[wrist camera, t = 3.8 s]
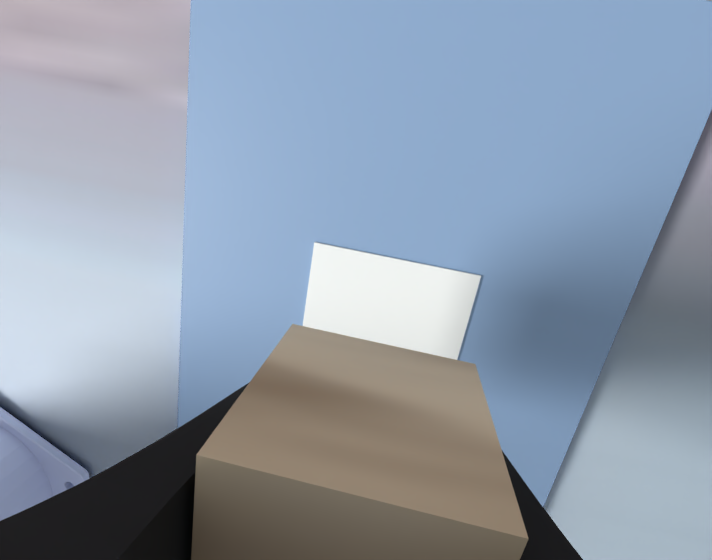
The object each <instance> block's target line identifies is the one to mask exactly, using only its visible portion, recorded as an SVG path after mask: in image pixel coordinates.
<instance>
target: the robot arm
mask: <svg viewBox="0 0 712 560" xmlns="http://www.w3.org/2000/svg"><path fill="white" fill-rule="evenodd" d="M248 384H249V383H248ZM248 384H246V385H244V386H243V387H241V388H240V389H238V390H236V391H235V392H233V393H232V394H230V395H229V396H227V397H226V398H224V399H223V400H221V401H220V402H218V403H217V404H215V405H213V406H212V407H210V408H209V409H207V410H206V411H204V412H203V413H201V414H200V415H198V416H197V417H195V418H193V419H192V420H190V421H189V422H187V423H185V424H184V425H182V426H181V427H179V428H177V429H176V430H174V431H172V432H171V433H169V434H168V435H166V436H164V437H163V438H161V439H159V440H158V441H156V442H154V443H153V444H151V445H149V446H148V447H146V448H144V449H142V450H140V451H139V452H137V453H135V454H133V455H132V456H130V457H128V458H126V459H125V460H123V461H121V462H119V463H117V464H116V465H114V466H112V467H110V468H109V469H107V470H105V471H103V472H101V473H99V474H97V475H95V476H94V477H92V478H90V477H89V473H88V471H87V470H86V469H85V468H83V467H82V466H81V465H79V464H78V463H76V462H75V461H74V460H72V459H71V458H70V457H68V456H67V455H66V454H64V453H63V452H61V451H60V450H59V449H57V448H56V447H55V446H53V445H52V444H50V443H49V442H48V441H46V440H45V439H44V438H42V437H41V436H39V435H38V434H37V433H35V432H34V431H33V430H31V429H30V428H29V427H27V426H26V425H24V424H23V423H22V422H20V421H19V420H18V419H16V418H15V417H13V416H12V415H11V414H9V413H8V412H7V411H5V410H4V409H2V408H1V407H0V560H191V552H192V532H193V512H194V492H195V473H196V455H197V453H198V452H199V451H200V449H201V448H202V446H203V445H204V444H205V442H206V441H207V440H208V438H209V437H210V436H211V434H212V433H213V431H214V430H215V429H216V427H217V426H218V425H219V423H220V422H221V421H222V419H223V418H224V416H225V415H226V414H227V412H228V411H229V410H230V408H231V407H232V406H233V404H234V403H235V401H236V400H237V399H238V397H239V396H240V395H241V393H242V392H243V391H244V389H245V388H246V386H247V385H248ZM501 450H502V449H501ZM502 453H503V456H504V460H505V463H506V466H507V470H508V473H509V476H510V479H511V483H512V486H513V489H514V493H515V496H516V499H517V502H518V506H519V509H520V512H521V516H522V519H523V522H524V525H525V529H526V532H527V535H528V541H527V544H526V546H525V548H524V551H523V553H522V556H521V558H520V560H583V559H582V558H581V557H580V555H579V554H578V553H577V552H576V550H575V549H574V548H573V547H572V545H571V544H570V543H569V541H568V540H567V539H566V537H565V536H564V535H563V533H562V532H561V531H560V530H559V528H558V527H557V526H556V524H555V523H554V521H553V520H552V519H551V517H550V516H549V515H548V513H547V512H546V511H545V509H544V508H543V507H542V505H541V504H540V503H539V501H538V500H537V498H536V497H535V496H534V494H533V493H532V491H531V490H530V489H529V487H528V486H527V485H526V483H525V482H524V480H523V479H522V478H521V476H520V475H519V473H518V472H517V471H516V469H515V468H514V466H513V465H512V463H511V462H510V461H509V459H508V458H507V456H506V455H505V454H504V452H503V451H502Z"/></svg>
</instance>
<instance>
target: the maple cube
mask: <svg viewBox="0 0 712 560" xmlns="http://www.w3.org/2000/svg"><path fill="white" fill-rule="evenodd" d="M527 541H528V535H527V532H526V529H525V525H524V522H523V519H522V516H521V512H520V509H519V506H518V502H517V499H516V496H515V493H514V489H513V486H512V483H511V479H510V476H509V473H508V470H507V466H506V463H505V460H504V456H503V453H502V450H501V447H500V443H499V440H498V437H497V433H496V430H495V427H494V424H493V420H492V417H491V414H490V410H489V407H488V404H487V401H486V397H485V394H484V391H483V387H482V384H481V381H480V378H479V374H478V371H477V368H476V365H475V364H473V363H469V362H464V361H460V360H455V359H450V358H446V357H441V356H437V355H432V354H428V353H423V352H419V351H414V350H410V349H405V348H400V347H396V346H391V345H387V344H382V343H378V342H373V341H369V340H364V339H359V338H355V337H350V336H346V335H341V334H337V333H332V332H328V331H323V330H319V329H314V328H309V327H305V326H300V325H296V324H292V325H291V327H290V328H289V329H288V331H287V332H286V333H285V335H284V336H283V337H282V339H281V340H280V342H279V343H278V344H277V346H276V347H275V348H274V350H273V351H272V352H271V354H270V355H269V357H268V358H267V359H266V361H265V362H264V363H263V365H262V366H261V367H260V369H259V370H258V372H257V373H256V374H255V376H254V377H253V378H252V380H251V381H250V382H249V384H248V385H247V386H246V388H245V389H244V391H243V392H242V393H241V395H240V396H239V397H238V399H237V400H236V401H235V403H234V404H233V406H232V407H231V408H230V410H229V411H228V412H227V414H226V415H225V416H224V418H223V419H222V421H221V422H220V423H219V425H218V426H217V427H216V429H215V430H214V431H213V433H212V434H211V436H210V437H209V438H208V440H207V441H206V442H205V444H204V445H203V446H202V448H201V449H200V451H199V452H198V453H197V455H196V473H195V492H194V512H193V532H192V552H191V560H520V558H521V556H522V553H523V551H524V548H525V546H526V544H527Z"/></svg>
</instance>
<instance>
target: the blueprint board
mask: <svg viewBox="0 0 712 560" xmlns="http://www.w3.org/2000/svg"><path fill="white" fill-rule="evenodd" d="M711 110H712V1H707V0H191V13H190V45H189V76H188V108H187V140H186V172H185V204H184V236H183V268H182V300H181V331H180V363H179V395H178V427H177V428H179V427H181V426H182V425H184V424H185V423H187V422H189V421H190V420H192V419H193V418H195V417H197V416H198V415H200V414H201V413H203V412H204V411H206V410H207V409H209V408H210V407H212V406H213V405H215V404H217V403H218V402H220V401H221V400H223V399H224V398H226V397H227V396H229V395H230V394H232V393H233V392H235V391H236V390H238V389H240V388H241V387H243V386H244V385H246V384H248V383H249V382H250V381H251V380H252V378H253V377H254V376H255V374H256V373H257V372H258V370H259V369H260V367H261V366H262V365H263V363H264V362H265V361H266V359H267V358H268V357H269V355H270V354H271V352H272V351H273V350H274V348H275V347H276V346H277V344H278V343H279V342H280V340H281V339H282V337H283V336H284V335H285V333H286V332H287V331H288V329H289V328H290V327H291V325H292V324H296V325H300V326H305V327H309V328H314V329H319V330H323V331H328V332H332V333H337V334H341V335H346V336H350V337H355V338H359V339H364V340H369V341H373V342H378V343H382V344H387V345H391V346H396V347H400V348H405V349H410V350H414V351H419V352H423V353H428V354H432V355H437V356H441V357H446V358H450V359H455V360H460V361H464V362H469V363H473V364H475V365H476V368H477V371H478V374H479V378H480V381H481V384H482V387H483V391H484V394H485V397H486V401H487V404H488V407H489V410H490V414H491V417H492V420H493V424H494V427H495V430H496V433H497V437H498V440H499V443H500V447H501V449H502V451H503V452H504V454H505V455H506V456H507V458H508V459H509V461H510V462H511V463H512V465H513V466H514V468H515V469H516V471H517V472H518V473H519V475H520V476H521V478H522V479H523V480H524V482H525V483H526V485H527V486H528V487H529V489H530V490H531V491H532V493H533V494H534V496H535V497H536V498H537V500H538V501H539V503H540V504H541V505H542V507H543V506H544V504H545V502H546V499H547V497H548V495H549V492H550V490H551V488H552V485H553V483H554V480H555V478H556V476H557V473H558V471H559V469H560V466H561V464H562V462H563V459H564V457H565V455H566V452H567V450H568V447H569V445H570V443H571V440H572V438H573V436H574V433H575V431H576V429H577V426H578V424H579V421H580V419H581V417H582V414H583V412H584V410H585V407H586V405H587V403H588V400H589V398H590V396H591V393H592V391H593V388H594V386H595V384H596V381H597V379H598V377H599V374H600V372H601V370H602V367H603V365H604V362H605V360H606V358H607V355H608V353H609V351H610V348H611V346H612V344H613V341H614V339H615V337H616V334H617V332H618V329H619V327H620V325H621V322H622V320H623V318H624V315H625V313H626V311H627V308H628V306H629V304H630V301H631V299H632V296H633V294H634V292H635V289H636V287H637V285H638V282H639V280H640V278H641V275H642V273H643V270H644V268H645V266H646V263H647V261H648V259H649V256H650V254H651V252H652V249H653V247H654V245H655V242H656V240H657V237H658V235H659V233H660V230H661V228H662V226H663V223H664V221H665V219H666V216H667V214H668V211H669V209H670V207H671V204H672V202H673V200H674V197H675V195H676V193H677V190H678V188H679V186H680V183H681V181H682V178H683V176H684V174H685V171H686V169H687V167H688V164H689V162H690V160H691V157H692V155H693V152H694V150H695V148H696V145H697V143H698V141H699V138H700V136H701V134H702V131H703V129H704V127H705V124H706V122H707V119H708V117H709V115H710V112H711Z"/></svg>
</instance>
